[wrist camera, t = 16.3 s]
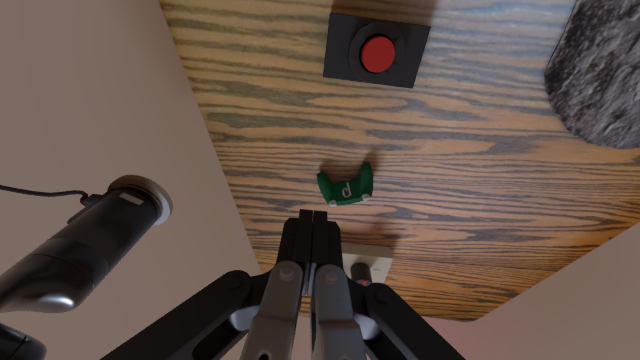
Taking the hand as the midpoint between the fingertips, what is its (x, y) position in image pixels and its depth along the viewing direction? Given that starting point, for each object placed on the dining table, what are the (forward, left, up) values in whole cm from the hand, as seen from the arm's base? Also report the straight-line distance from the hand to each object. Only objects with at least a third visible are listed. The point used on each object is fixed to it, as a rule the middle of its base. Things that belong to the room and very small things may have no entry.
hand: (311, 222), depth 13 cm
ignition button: (+6, +8, -22) cm, 24 cm away
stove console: (+12, -31, -26) cm, 42 cm away
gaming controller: (+6, -12, -26) cm, 30 cm away
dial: (+12, -31, -23) cm, 41 cm away
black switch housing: (+6, +8, -26) cm, 28 cm away
